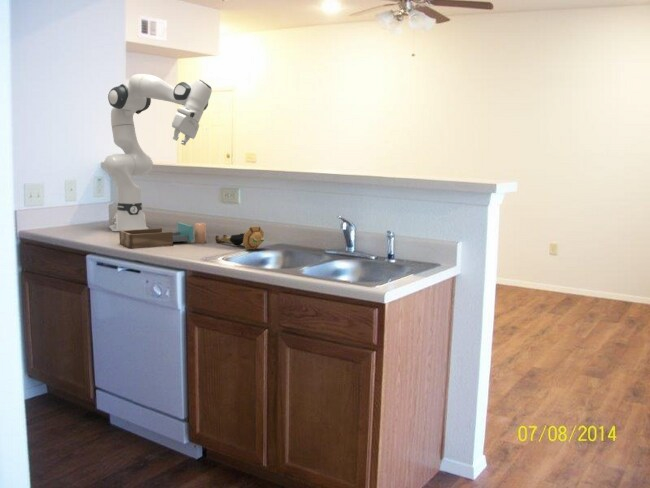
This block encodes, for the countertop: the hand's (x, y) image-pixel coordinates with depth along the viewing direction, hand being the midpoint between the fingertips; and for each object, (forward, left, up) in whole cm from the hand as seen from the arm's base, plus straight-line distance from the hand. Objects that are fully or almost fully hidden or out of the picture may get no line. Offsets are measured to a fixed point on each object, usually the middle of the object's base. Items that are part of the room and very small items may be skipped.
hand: (178, 142), depth 285 cm
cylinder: (+9, +6, -46) cm, 47 cm away
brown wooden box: (+4, -17, -46) cm, 49 cm away
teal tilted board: (+4, -8, -44) cm, 45 cm away
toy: (+27, +17, -46) cm, 56 cm away
